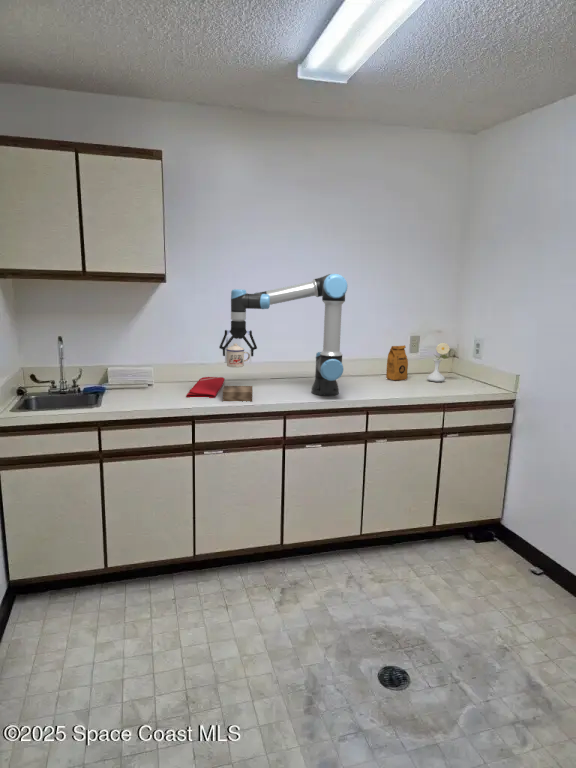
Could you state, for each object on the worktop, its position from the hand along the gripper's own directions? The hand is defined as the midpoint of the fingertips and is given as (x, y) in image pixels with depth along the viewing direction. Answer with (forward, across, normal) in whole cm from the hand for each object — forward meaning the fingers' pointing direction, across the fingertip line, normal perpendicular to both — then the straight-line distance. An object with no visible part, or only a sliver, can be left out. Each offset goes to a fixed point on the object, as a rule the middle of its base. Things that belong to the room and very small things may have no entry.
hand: (238, 362), depth 263 cm
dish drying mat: (+20, +18, -21) cm, 34 cm away
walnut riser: (+19, 0, 0) cm, 19 cm away
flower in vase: (+19, -125, -50) cm, 136 cm away
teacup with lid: (+2, 0, 0) cm, 2 cm away
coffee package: (+19, -100, -54) cm, 115 cm away
